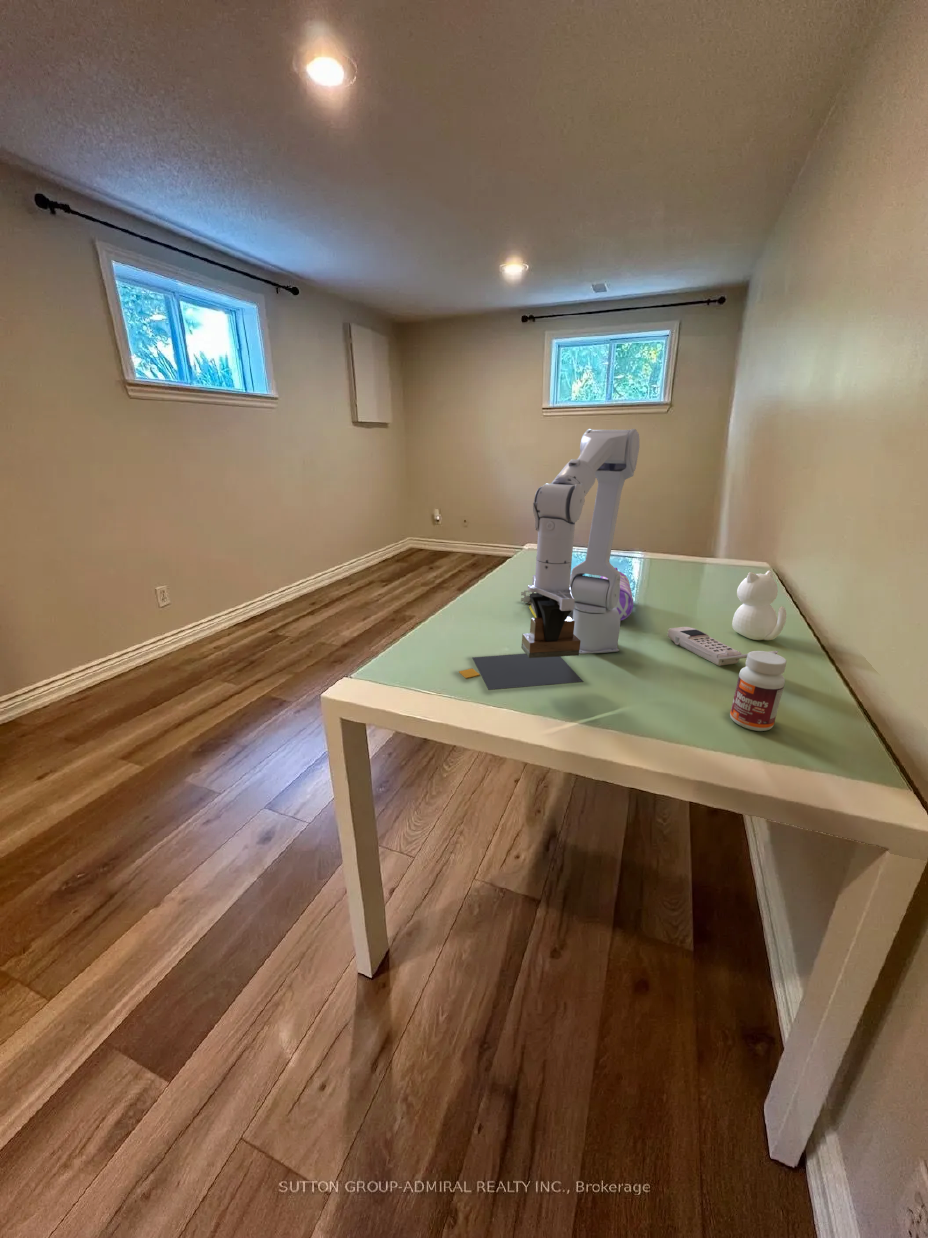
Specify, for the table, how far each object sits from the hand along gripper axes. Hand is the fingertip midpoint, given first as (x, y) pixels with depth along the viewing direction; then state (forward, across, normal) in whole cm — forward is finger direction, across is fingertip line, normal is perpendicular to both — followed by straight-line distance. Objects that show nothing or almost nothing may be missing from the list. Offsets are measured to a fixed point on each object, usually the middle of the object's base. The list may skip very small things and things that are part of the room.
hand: (548, 637), depth 85 cm
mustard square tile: (+10, -7, -12) cm, 17 cm away
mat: (+10, -8, -1) cm, 13 cm away
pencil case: (+10, -39, +33) cm, 52 cm away
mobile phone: (+10, -8, +39) cm, 41 cm away
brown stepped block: (+3, 0, 0) cm, 3 cm away
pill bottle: (+10, +16, +29) cm, 35 cm away
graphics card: (+10, -41, +16) cm, 45 cm away
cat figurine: (+10, -16, +57) cm, 60 cm away
